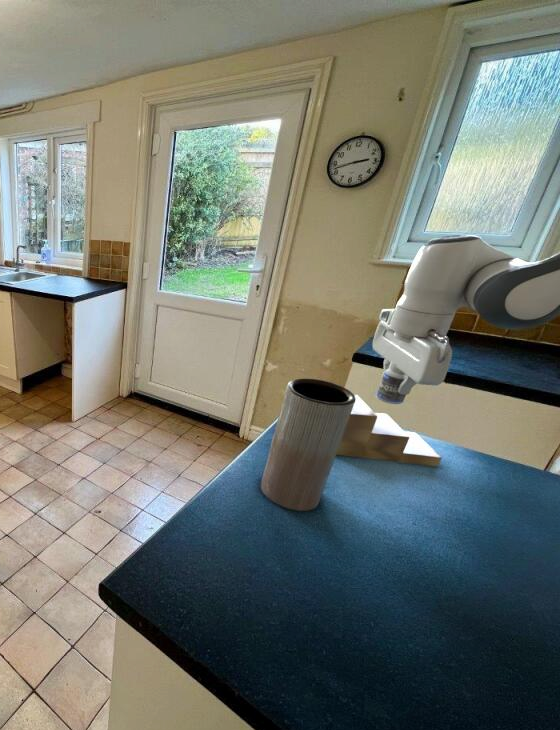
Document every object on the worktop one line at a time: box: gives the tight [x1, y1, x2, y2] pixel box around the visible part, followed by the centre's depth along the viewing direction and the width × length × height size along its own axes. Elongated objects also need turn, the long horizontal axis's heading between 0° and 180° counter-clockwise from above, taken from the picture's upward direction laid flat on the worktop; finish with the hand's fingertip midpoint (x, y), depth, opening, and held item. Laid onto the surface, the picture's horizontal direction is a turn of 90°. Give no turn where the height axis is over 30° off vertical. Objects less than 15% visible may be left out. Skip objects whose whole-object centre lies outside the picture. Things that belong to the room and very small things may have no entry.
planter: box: [260, 378, 356, 512], centre depth 75 cm, size 10×10×23 cm
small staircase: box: [336, 394, 443, 467], centre depth 91 cm, size 21×10×11 cm, turn 76°
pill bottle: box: [375, 361, 407, 405], centre depth 86 cm, size 5×5×8 cm
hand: (394, 386), depth 87 cm, fingers closed on pill bottle, 5 cm apart
